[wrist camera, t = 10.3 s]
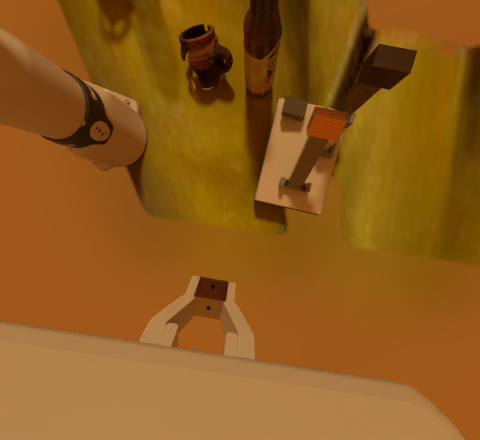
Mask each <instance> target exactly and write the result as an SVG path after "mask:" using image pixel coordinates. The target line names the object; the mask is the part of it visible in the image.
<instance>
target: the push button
mask: <svg viewBox="0 0 480 440" xmlns="http://www.w3.org/2000/svg"><path fill="white" fill-rule="evenodd" d="M337 140H338V137H337V139H336V141H332V140H329V141H328V143H327V145H326V146H325V148H324V150H326V149H328V148H329V147H331V146H332V145H333V144H335V143H336V142H337Z"/></svg>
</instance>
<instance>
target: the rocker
mask: <svg viewBox="0 0 480 440" xmlns="http://www.w3.org/2000/svg"><path fill="white" fill-rule="evenodd" d="M307 105H308V102H307V101H304V100H300V99H297V98H294V97H291V96H288V95H287V97H286V98H285V100H284V104H283V108H282V112H281V115H282V116H285V117H288V118H292V119H295V120H298V121H301V120H303V119H304V117H305V113H306V109H307Z"/></svg>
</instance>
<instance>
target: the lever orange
mask: <svg viewBox="0 0 480 440" xmlns="http://www.w3.org/2000/svg"><path fill="white" fill-rule="evenodd" d="M346 123H347V116H346V112H342V111H337V110H332V109H327V108H322V107H317V106H315V108H314V110H313V113H312V115H311V117H310V120H309V122H308V125H307V132H306V135H308V137H307V139H306V142H305V144H304V146H303V148H302V150H301V153H300V155H299V157H298V159H297V162H296V164H295V166H294V168H293V170H292V173H291V175H290V177H289V179H285V182H284V187H285V188H290V189H294V190H299V191H303V190H304V188H305V181H306V179H307V178H308V176H309V174H310V172H311V171H312V169H313V167H314V165H315V164H316V162H317V160H318V159H319V157H320V155H321V153H322V152H323V150H324V148H325V146H326V145H327V143H328V141H329V140H332V141H336V139H337V137H338V136H339V134H340V133H341V131H342V129H343V128H344V126H345V124H346Z"/></svg>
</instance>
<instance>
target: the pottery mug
mask: <svg viewBox="0 0 480 440" xmlns="http://www.w3.org/2000/svg"><path fill="white" fill-rule="evenodd" d="M208 30H209V31H205V28H204V24H200V25H196V26H193V27H190V28H188V29H187V30H185V31H183V32H182V33H181V34H180V36H179V39H180V43H181V57H182V59H183V60H184V61H185V56H186V53H187V52H188V51H189V52H188V54H189V55H188V62H189V64H190V66H191V67H193V68H194V70H195V73H196V74H197V76H198V77H194V76H193V77H192V79H193V81H194V83H195V85H196V86H197V87H198V88H210V87H213V86H215V85H217V84H218V83H219V75H223V73H226V72H228V71H229V70H230V68H231V66H232V62H233V59H232V55H231V52H230V51H229V49H227V48H226V47H224V46H221V45H220V44H219V43H216V42H218V37H217V35H216V34H215V31H214V26H212V25H208ZM212 57H213V59H214V62H213V64H212V63H211V61H210V59H211V58H212ZM223 58H224V59H225V63H224V59H223Z"/></svg>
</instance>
